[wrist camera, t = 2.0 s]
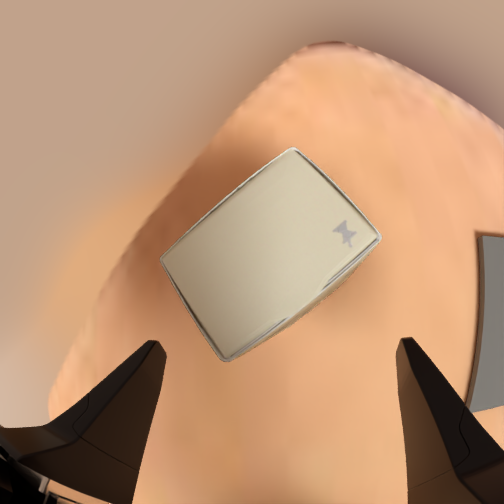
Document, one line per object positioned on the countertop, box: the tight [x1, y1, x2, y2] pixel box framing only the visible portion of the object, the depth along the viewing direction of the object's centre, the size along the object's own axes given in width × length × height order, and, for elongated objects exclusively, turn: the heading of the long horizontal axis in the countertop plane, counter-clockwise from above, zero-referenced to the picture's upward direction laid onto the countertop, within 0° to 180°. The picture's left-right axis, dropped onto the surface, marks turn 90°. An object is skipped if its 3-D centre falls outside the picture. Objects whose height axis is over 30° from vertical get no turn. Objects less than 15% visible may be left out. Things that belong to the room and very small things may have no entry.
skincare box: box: [160, 147, 382, 362], centre depth 14 cm, size 6×4×12 cm
